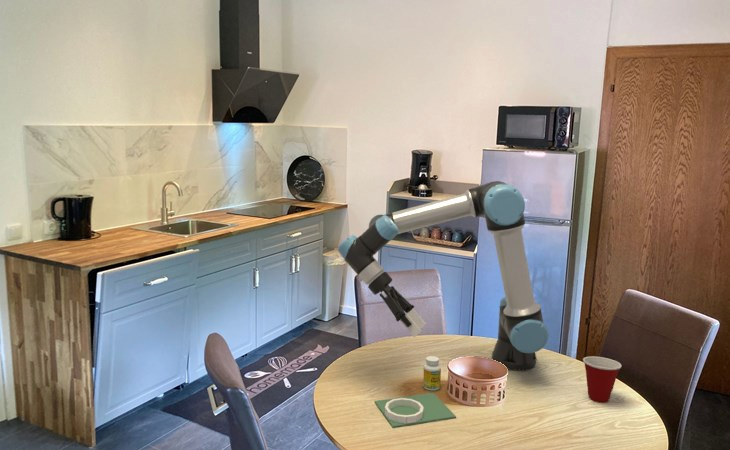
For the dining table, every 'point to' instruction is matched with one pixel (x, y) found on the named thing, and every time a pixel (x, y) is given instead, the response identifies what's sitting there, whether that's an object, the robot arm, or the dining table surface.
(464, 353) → the dining table surface
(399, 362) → the dining table surface
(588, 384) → the plastic cup
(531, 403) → the dining table surface
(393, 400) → the segmented ring wall
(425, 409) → the putting mat
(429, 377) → the supplement bottle
